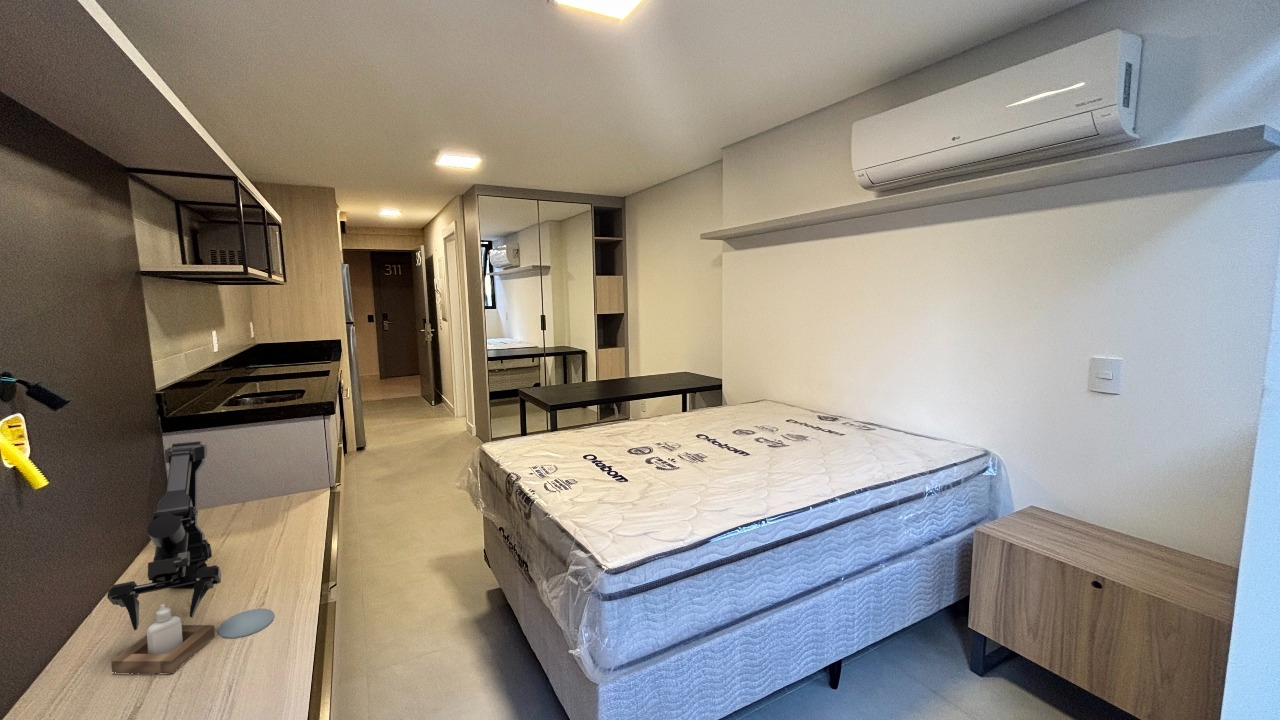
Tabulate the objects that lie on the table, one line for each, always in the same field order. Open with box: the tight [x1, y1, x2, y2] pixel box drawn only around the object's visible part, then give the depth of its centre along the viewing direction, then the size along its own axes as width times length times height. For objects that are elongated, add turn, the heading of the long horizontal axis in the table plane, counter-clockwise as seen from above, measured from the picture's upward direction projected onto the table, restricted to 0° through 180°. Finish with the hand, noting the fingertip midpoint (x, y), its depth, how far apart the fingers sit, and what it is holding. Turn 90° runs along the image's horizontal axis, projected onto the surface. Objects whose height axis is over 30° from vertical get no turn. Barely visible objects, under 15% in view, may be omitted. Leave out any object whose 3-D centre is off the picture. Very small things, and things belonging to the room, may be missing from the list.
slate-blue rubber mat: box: [217, 608, 275, 639], centre depth 126 cm, size 11×11×1 cm
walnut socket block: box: [110, 624, 216, 675], centre depth 115 cm, size 12×12×3 cm
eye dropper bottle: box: [146, 603, 183, 654], centre depth 114 cm, size 4×6×12 cm
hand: (163, 623), depth 114 cm, fingers open, 9 cm apart
